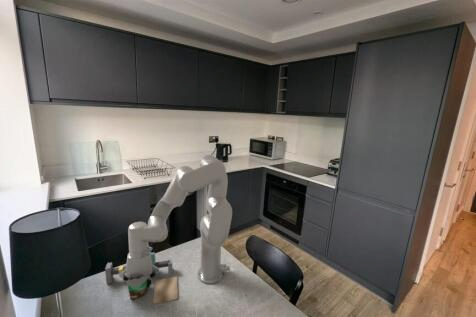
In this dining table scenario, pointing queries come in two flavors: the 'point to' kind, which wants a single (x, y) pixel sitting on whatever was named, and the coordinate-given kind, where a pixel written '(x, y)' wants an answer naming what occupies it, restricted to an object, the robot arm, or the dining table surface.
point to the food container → (137, 286)
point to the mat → (165, 290)
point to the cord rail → (113, 271)
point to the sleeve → (153, 259)
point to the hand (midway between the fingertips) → (140, 287)
